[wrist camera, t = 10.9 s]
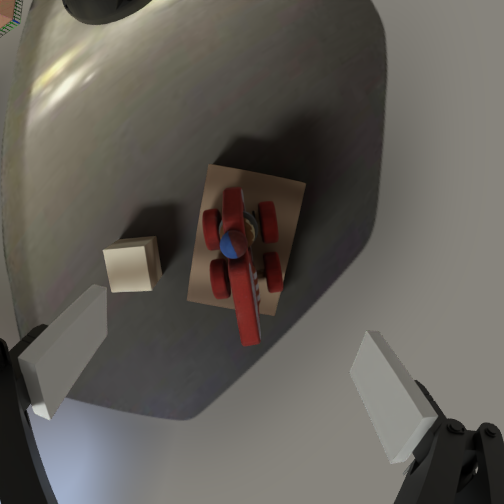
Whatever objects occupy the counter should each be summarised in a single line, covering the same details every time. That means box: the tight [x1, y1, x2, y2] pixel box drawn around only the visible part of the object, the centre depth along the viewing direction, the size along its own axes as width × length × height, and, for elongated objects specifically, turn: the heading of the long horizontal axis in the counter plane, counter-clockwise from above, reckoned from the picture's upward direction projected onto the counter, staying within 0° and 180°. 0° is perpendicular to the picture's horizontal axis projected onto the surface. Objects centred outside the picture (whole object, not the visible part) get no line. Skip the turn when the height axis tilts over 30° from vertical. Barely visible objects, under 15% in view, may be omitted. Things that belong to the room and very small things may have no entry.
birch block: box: [103, 236, 162, 292], centre depth 35 cm, size 5×5×5 cm
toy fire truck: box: [202, 187, 283, 346], centre depth 28 cm, size 7×12×10 cm, turn 7°
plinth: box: [187, 164, 306, 316], centre depth 35 cm, size 15×10×4 cm, turn 169°
